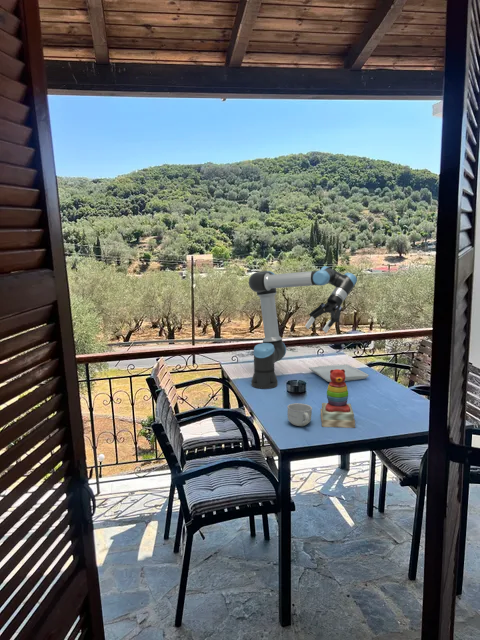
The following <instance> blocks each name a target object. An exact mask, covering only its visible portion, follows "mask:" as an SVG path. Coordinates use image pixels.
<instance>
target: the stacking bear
mask: <svg viewBox="0 0 480 640" xmlns="http://www.w3.org/2000/svg"><path fill="white" fill-rule="evenodd" d="M330 379H331V382H329V384H328V385H327V389H326V399H327V402H326V403H327V405H326V407H325V410H326V411H328V412H334V411H341V412H350V407H349V405H348V404H349V403H348V399H349V389H348V386H347V384H346V381H345V370H344V369H342V370H339V369H336V370H331V371H330ZM347 403H348V404H347Z"/></svg>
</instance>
